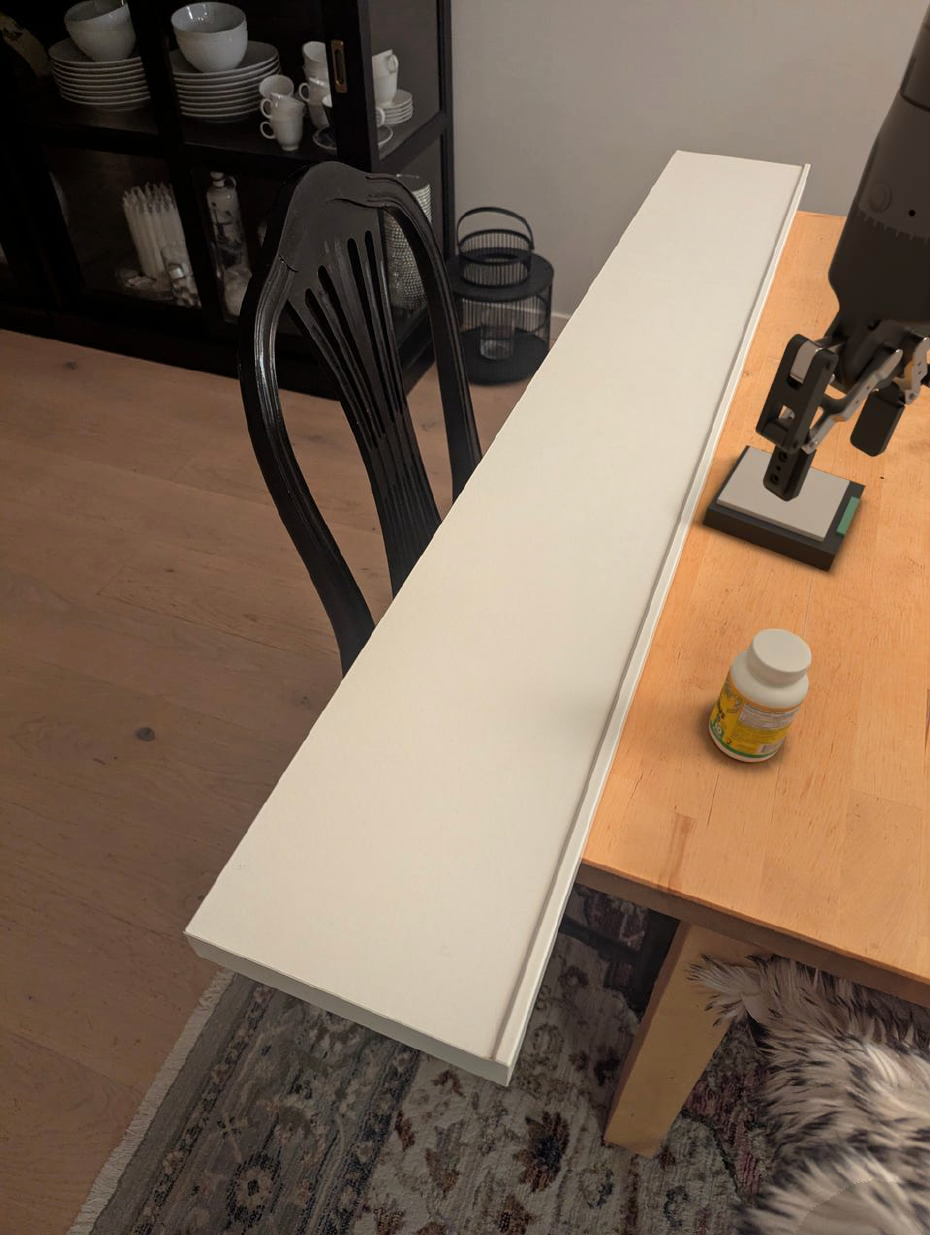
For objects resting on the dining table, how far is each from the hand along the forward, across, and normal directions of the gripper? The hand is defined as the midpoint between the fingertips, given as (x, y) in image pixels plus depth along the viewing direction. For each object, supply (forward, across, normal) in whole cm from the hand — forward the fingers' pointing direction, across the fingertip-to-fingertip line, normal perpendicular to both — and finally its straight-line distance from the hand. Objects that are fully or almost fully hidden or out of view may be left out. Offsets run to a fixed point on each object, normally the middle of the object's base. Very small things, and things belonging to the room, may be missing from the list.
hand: (823, 470), depth 55 cm
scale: (+21, +20, +12) cm, 31 cm away
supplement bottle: (+21, -4, -4) cm, 21 cm away
